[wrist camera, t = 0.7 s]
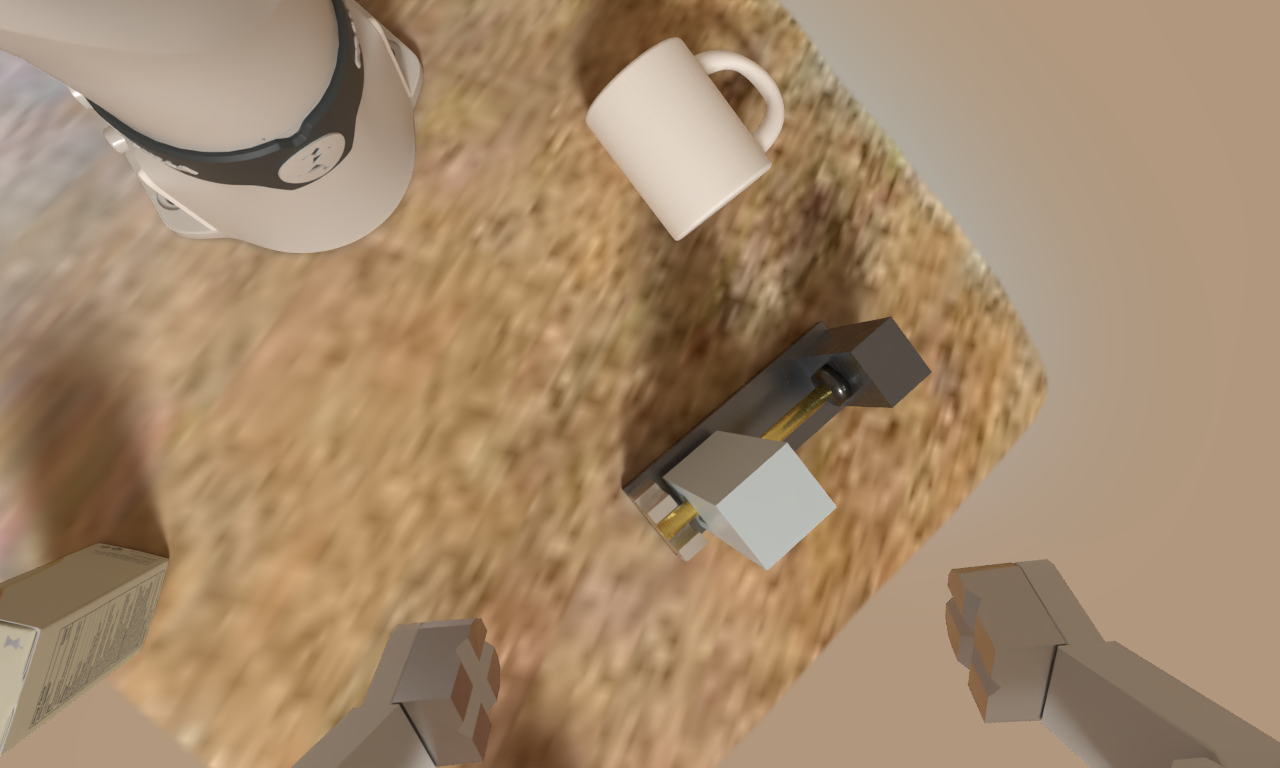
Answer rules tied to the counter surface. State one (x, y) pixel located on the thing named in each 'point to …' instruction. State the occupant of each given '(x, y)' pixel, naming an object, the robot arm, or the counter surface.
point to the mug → (684, 131)
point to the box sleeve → (751, 494)
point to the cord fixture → (786, 409)
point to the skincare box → (70, 630)
